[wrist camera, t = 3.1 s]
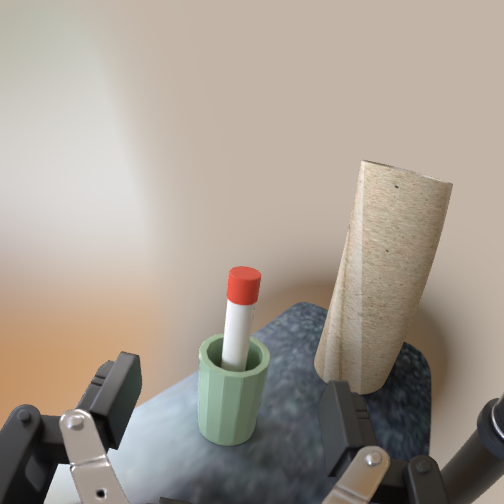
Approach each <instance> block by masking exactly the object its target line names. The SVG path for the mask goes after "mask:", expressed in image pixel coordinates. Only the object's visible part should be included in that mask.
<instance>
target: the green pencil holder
mask: <svg viewBox="0 0 504 504" xmlns="http://www.w3.org/2000/svg"><path fill="white" fill-rule="evenodd" d="M223 342H224V333H222V334H216V335H213V336H212V337H210V338H208V339H207V340H205V341H204V342H203V344H202V346H201V347H200V349H199V367H198V400H197V420H198V428H199V430H200V432H201V434H202V435H203V436H204V437H205V438H206V439H207V440H209V441H211V442H213V443H215V444H218V445H222V446H234V445H238V444H241V443H243V442H245V441H247V440H248V439H249V438H250V437H251V436H252V434H253V432H254V429H255V425H256V421H257V417H258V413H259V408H260V404H261V399H262V395H263V390H264V386H265V381H266V377H267V372H268V367H269V363H270V358H271V356H270V353H269V351H268V349H267V347H266V346H265V345H264V344H262V343H261V342H260V341H259V340H257V339H256V338H253V337H251V336H250V343H249V349H248V356H247V362H246V368H245V371H244V372H233V371H227V370H224V369H222V368H221V363H222V352H223Z"/></svg>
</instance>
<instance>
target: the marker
mask: <svg viewBox="0 0 504 504" xmlns="http://www.w3.org/2000/svg"><path fill="white" fill-rule="evenodd" d="M260 280H261V274H260V272H259V271H258V270H256V269H253V268H250V267H242V266H240V267H234V268H232V269H231V270H230V271H229V279H228V289H227V298H228V302H227V312H226V323H225V332H224V342H223V352H222V363H221V368H222V369H224V370H227V371H233V372H244V371H245V368H246V362H247V356H248V349H249V343H250V336H251V330H252V323H253V317H254V310H255V304H256V302H257V299H258V293H259V286H260Z"/></svg>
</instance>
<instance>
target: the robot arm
mask: <svg viewBox="0 0 504 504" xmlns="http://www.w3.org/2000/svg"><path fill="white" fill-rule="evenodd" d="M141 388H142V375H141V367H140V358H139V355H136V354H131V353H126V352H121V353H120V354H119V356H118V358H117V360H116V361H115V362H113V361H110V360H109V361H107V362H106V363H105V364H103V365H102V366H101V367H100V368H99V369H98V371H97V373H96V375H95V377H94V378H93V380H92V381H91V384H90V385H89V386H88V388H87V390H86V391H85V393H84V395H83V397H82V398H81V400H80V402H79V404H78V406H77V407H76V408H75V409H71V410H68V411H66V412H65V413H64V414H63V415H62V416H48V415H41V414H40V412H39V410H38V409H37V408H35V407H34V406H32V405H27V404H26V405H25V404H24V405H20V406H18V407H16V408H15V409H14V410H13V411H12V413H11V414H10V416H9V418H8V419H7V421H6V423H5V424H4V426H3V428H2V429H1V431H0V504H43V503H44V500H45V498H46V495H47V492H48V489H49V487H50V484H51V482H52V479H53V476H54V474H55V471H56V469H57V466H58V464H71V467H70V471H71V474H72V477H73V480H74V483H75V486H76V489H77V491H78V494H79V497H80V499H81V502H82V504H130V503H129V501H128V500H127V498H126V496H125V494H124V492H123V490H122V487H121V485H120V483H119V481H118V479H117V477H116V475H115V472H114V470H113V468H112V466H111V463H110V461H109V459H108V457H107V452H108V450H109V448H112V449H115V450H118V448H119V445H120V442H121V440H122V437H123V435H124V432H125V430H126V427H127V425H128V422H129V420H130V417H131V415H132V412H133V410H134V407H135V405H136V402H137V400H138V398H139V395H140V392H141ZM318 415H319V422H320V429H321V435H322V442H323V448H324V455H325V462H326V469H327V476H328V477H336V478H337V483H336V485H335V486H334V487H333V489H332V490H331V491H330V493H329V494H328V495H327V497H326V498H325V499H324V500H323V502H322V503H321V504H370V503H369V502H373V503H379V504H450V503H449V499H448V496H447V492H446V489H445V486H444V482H443V479H442V476H441V473H440V470H439V467H438V464H437V462H436V461H435V460H434V459H433V458H431V457H430V456H427V455H417V456H415V457H413V458H412V459H411V460H410V461H404V460H398V459H393V458H390V457H389V455H388V453H387V452H386V451H385V450H383V449H382V448H380V447H378V444H377V440H376V437H375V434H374V430H373V427H372V424H371V421H370V419H369V418H370V417H369V414H368V412H367V408H366V404H365V401H364V400H363V399H362V397H361V396H360V395H359V394H358V393H357V392H351V390H350V387H349V384H348V381H345V380H329V382H328V384H327V387H326V389H325V392H324V394H323V397H322V399H321V402H320V405H319V412H318ZM489 422H490V426H491V428H492V430H493V432H494V434H495V435H496V436H497V437H498V439H499V440H500V441H502V442H503V443H504V392H503V394H502V396H501V397H500V398H499V400H498V401H497V402H496V403H495V405H494V406H493V408H492V409H491V411H490V414H489ZM147 504H192V503H189V502H184V501H179V500H174V499H169V498H164V497H160V501H159V503H147Z"/></svg>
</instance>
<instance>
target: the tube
mask: <svg viewBox="0 0 504 504" xmlns="http://www.w3.org/2000/svg"><path fill="white" fill-rule="evenodd" d="M452 186H453V184H451V183H449V182H446V181H443V180H440V179H436V178H433V177H430V176H427V175H423V174H420V173H416V172H413V171H409V170H405V169H401V168H397V167H393V166H389V165H385V164H380V163H376V162H371V161H364V160H362V162H361V168H360V173H359V179H358V184H357V190H356V195H355V200H354V205H353V210H352V215H351V220H350V224H349V229H348V234H347V238H346V243H345V247H344V251H343V256H342V260H341V264H340V269H339V272H338V276H337V280H336V284H335V288H334V292H333V296H332V300H331V304H330V307H329V311H328V315H327V318H326V322H325V325H324V329H323V332H322V336H321V339H320V343H319V346H318V349H317V353H316V356H315V359H314V366H315V369H316V372H317V374H318V375H319V376H320V378H321V379H322V380H323V381H324V382H326V383H327V384H328V382H329V380H345V381H348V384H349V387H350V390H351V392H357V393H358V394H359V395H360V394H369V393H372V392H375V391H377V390H378V389H380V388H381V387H382V386H383V385H384V383H385V381H386V379H387V377H388V375H389V373H390V371H391V369H392V367H393V365H394V362H395V360H396V358H397V356H398V354H399V351H400V349H401V347H402V344H403V342H404V339H405V337H406V335H407V333H408V330H409V328H410V325H411V323H412V320H413V318H414V315H415V312H416V310H417V307H418V304H419V302H420V299H421V296H422V293H423V290H424V287H425V285H426V281H427V279H428V276H429V273H430V269H431V266H432V263H433V260H434V256H435V253H436V250H437V247H438V243H439V240H440V236H441V232H442V229H443V225H444V221H445V217H446V213H447V209H448V204H449V200H450V196H451V191H452Z"/></svg>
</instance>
